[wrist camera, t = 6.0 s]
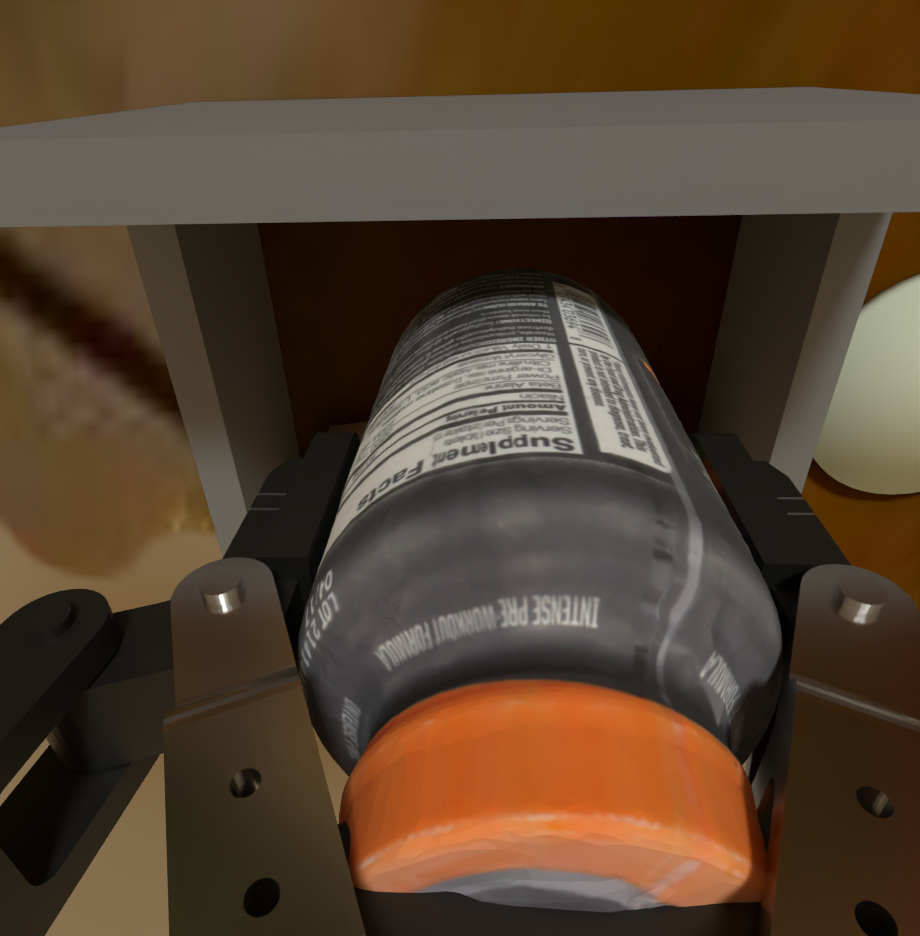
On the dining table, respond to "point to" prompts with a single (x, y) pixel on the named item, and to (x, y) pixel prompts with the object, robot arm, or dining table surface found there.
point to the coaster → (878, 398)
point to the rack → (483, 197)
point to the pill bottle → (539, 622)
